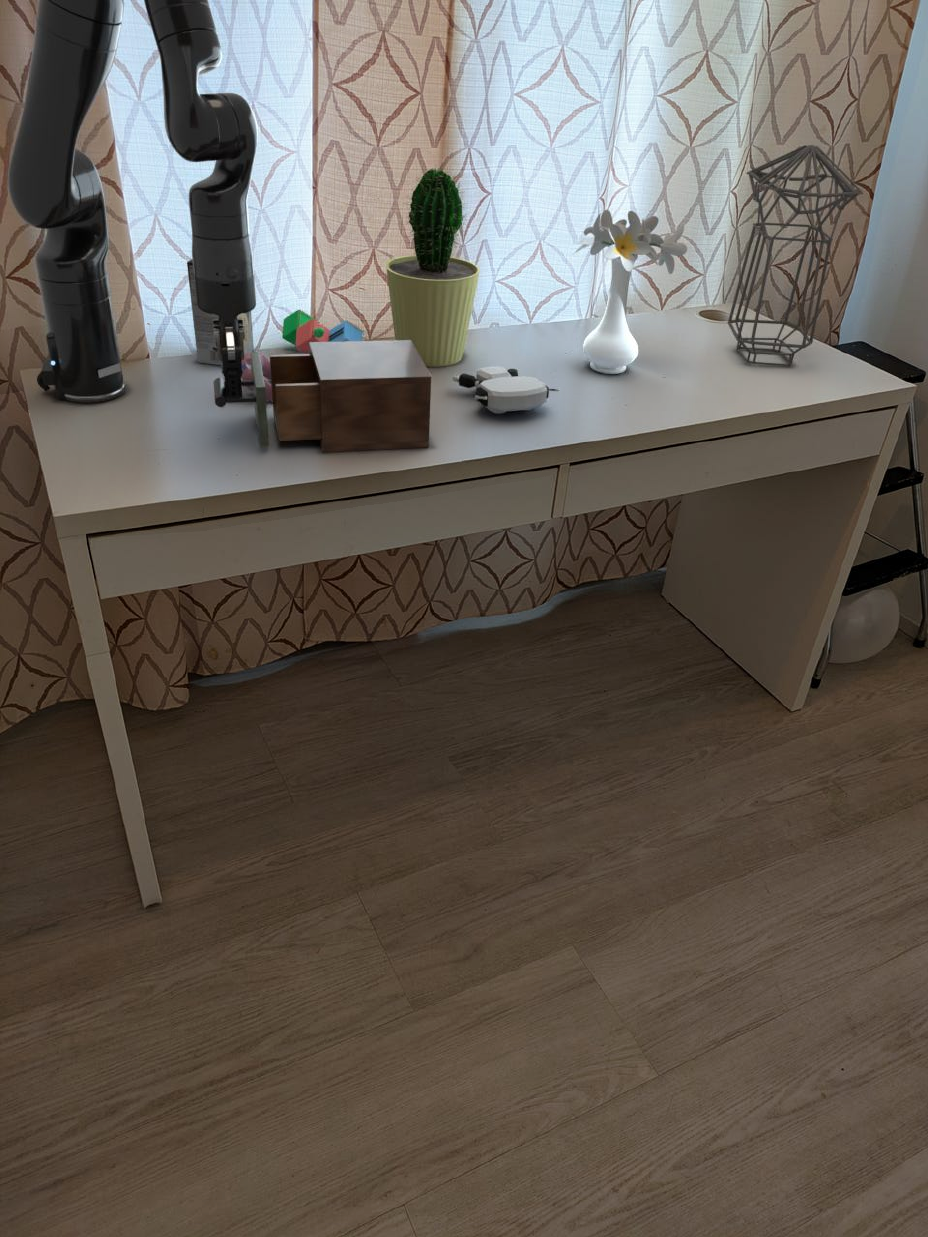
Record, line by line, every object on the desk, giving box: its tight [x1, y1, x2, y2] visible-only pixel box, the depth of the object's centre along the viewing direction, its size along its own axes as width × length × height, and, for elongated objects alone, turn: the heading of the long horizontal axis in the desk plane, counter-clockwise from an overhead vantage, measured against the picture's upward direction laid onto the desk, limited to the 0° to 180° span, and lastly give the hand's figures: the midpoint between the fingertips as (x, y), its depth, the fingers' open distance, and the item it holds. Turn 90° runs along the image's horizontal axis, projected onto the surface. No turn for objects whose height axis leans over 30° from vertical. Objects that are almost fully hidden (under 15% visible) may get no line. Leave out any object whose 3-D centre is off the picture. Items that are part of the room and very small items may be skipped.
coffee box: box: [186, 259, 255, 366], centre depth 156 cm, size 9×6×16 cm
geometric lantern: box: [727, 144, 864, 367], centre depth 165 cm, size 16×16×35 cm
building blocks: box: [281, 309, 365, 354], centre depth 163 cm, size 8×8×12 cm
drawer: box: [213, 351, 322, 448], centre depth 135 cm, size 19×14×8 cm
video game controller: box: [241, 349, 272, 403], centre depth 148 cm, size 10×5×7 cm, turn 5°
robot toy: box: [452, 365, 560, 415], centre depth 150 cm, size 12×4×15 cm
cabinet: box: [309, 339, 432, 453], centre depth 137 cm, size 15×15×10 cm
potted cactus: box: [384, 165, 481, 368], centre depth 158 cm, size 15×15×30 cm
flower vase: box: [572, 209, 688, 375], centre depth 160 cm, size 13×18×25 cm
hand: (234, 399), depth 133 cm, fingers closed
